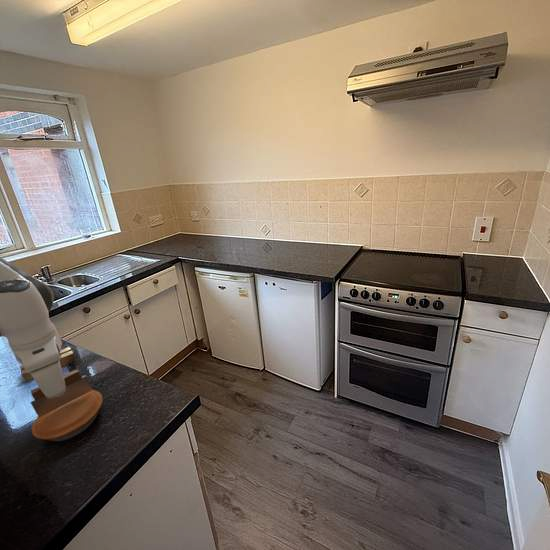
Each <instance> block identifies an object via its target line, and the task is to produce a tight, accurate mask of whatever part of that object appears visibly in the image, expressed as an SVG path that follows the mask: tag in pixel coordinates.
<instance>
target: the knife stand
mask: <svg viewBox="0 0 550 550" xmlns="http://www.w3.org/2000/svg"><path fill="white" fill-rule="evenodd" d="M60 354H61V359H60V360H59V361H60V366H61V368H63V367H65V366H67V365H69V364H72V363H74V362H76V361H77V358H76V357H75V354H74V352H73V349H72V348H71V346H68V347H65V348H62V349H60ZM19 369H20V375H21V377H22V379H23V381H24V383H27V382H30V381H32V380H34V378H33V376H32V375H31V373H30V372H29V373H26V371H25V369H24V367H23V365H22V364H21V365H20V366H19Z"/></svg>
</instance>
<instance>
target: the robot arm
mask: <svg viewBox="0 0 550 550" xmlns="http://www.w3.org/2000/svg"><path fill="white" fill-rule="evenodd" d="M54 301H55V294H54V291H53V290H52V288H51V287H50V286H49V284H47V283H45V282H44V281H43V280H40V279H38V278H36V277H34V276H32V275H29V274H28V273H26V272H24V271H22V269H19V268H18V267H17V266H15V265H13V264H12V263H10V262H9V261H7V260H6V259H4V258H3V257H1V256H0V338H1V337H4V338H6V339H7V343H8V345H9V348H10V350H11V351H12V354H13V355H14V357H15V359H16V362H18V363H19V364H21V366H22V365H23V367H24V369H25V371H26V373H29V372H30V373H31V375H32V376H33V378H34V379H33V380H34V382H35V383H36V384H37V386H38V387H40V389H41V390H42V392H43V393H44V395H45V396H46V397H47V398H48V399H51V398H54V397H59V396H61V395H63V394H64V392H65V391H66V384H65V381H64V377H63V375H64V374H63V370H62V367H61V366H60V361H59V360H60V359H61V354H60V350H62V347H63V346H62V345H63V342H62V340H61V337H60V336H59V335H60V334H59V333H58V330H57V328H56V326H55V324H54V323H53V322H52V321H51V319H50V315H49V313H50V311H51V310H52V308H53V305H54Z"/></svg>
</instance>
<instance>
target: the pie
mask: <svg viewBox="0 0 550 550" xmlns="http://www.w3.org/2000/svg"><path fill="white" fill-rule="evenodd" d="M102 404H103V395H102V394H101V392H99V391H97V390H95V389H92V391H90V392H88V393H86V394H84V395H82V396H80V397H78V398H76V399H75V400H73V401H71V402H69V403H67V404H65V405H63V406H61V407H59V408H57V409H55V410H53V411H51V412H50V413H48V414H46V415H44V416H42V417H40V418H39V417H38V416H37V417H36V418H35V420H34V422H33V424H32V427H31V432H32V436H34V437H35V438H36V439H38V440H39V439H40V440H45V441H52V442H64V441H66V440H70V439H73V438H74V437H76V436H78V435H80V434H82V432H84V431H86V430H87V429H88V428H89V427H90V426H91V425H92V424H93V423H94V421H95V420H96V418H97V416H98V413H99V410H100V409H101V407H102Z"/></svg>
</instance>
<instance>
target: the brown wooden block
mask: <svg viewBox="0 0 550 550" xmlns="http://www.w3.org/2000/svg"><path fill="white" fill-rule="evenodd" d="M63 377H64V381H65V384H66V391H65V392H64V394H63V395H61V396H59V397H54V398H51V399H48V398H47V397H46V396H45V395H44V393H43V392H42V390H41V389H40V387H39V386H38V387H35V388H33V389H32V390H30V393H31V396H32V398H33V400H32V401H30V404H31V406H32V408H33V410H34V411H35V413H36V415H37V417H39V418H40V417H42V416H44V415H46V414H48V413H50V412H51V411H53V410H55V409H57V408H59V407H61V406H63V405H65V404H67V403H69V402H71V401H73V400H75V399H76V398H78V397H80V396H82V395H84V394H86V393H88V392H90V391H92V390H93V388H92V386H91V384H90V382H89V379H88V377H87V376H86V375H83V376H81V373H80V371H79V369H78V368H76V369H74V370H72V371H69V372H68V373H65V374H63Z"/></svg>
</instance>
